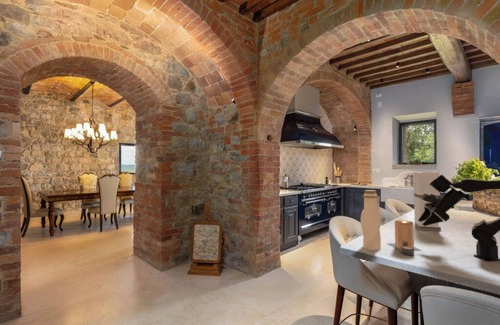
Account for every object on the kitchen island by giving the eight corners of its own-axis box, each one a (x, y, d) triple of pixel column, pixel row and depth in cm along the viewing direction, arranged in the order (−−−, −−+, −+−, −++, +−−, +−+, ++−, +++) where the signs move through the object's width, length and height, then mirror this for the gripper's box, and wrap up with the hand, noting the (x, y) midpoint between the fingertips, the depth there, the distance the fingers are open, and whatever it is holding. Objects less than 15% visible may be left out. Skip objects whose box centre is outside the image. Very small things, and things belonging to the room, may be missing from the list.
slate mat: (422, 251, 119) (422, 250, 119) (401, 252, 119) (401, 251, 119) (405, 243, 131) (405, 242, 131) (386, 244, 131) (386, 243, 131)
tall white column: (440, 231, 154) (439, 172, 154) (420, 229, 157) (418, 172, 157) (433, 226, 164) (432, 171, 165) (414, 225, 168) (413, 171, 168)
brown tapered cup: (417, 250, 120) (417, 223, 120) (402, 250, 119) (401, 223, 120) (406, 245, 128) (406, 219, 128) (392, 245, 127) (391, 220, 127)
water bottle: (365, 243, 132) (363, 189, 133) (384, 246, 127) (382, 189, 127) (359, 248, 125) (357, 190, 125) (379, 252, 119) (377, 191, 119)
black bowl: (416, 256, 113) (416, 249, 113) (406, 256, 113) (405, 249, 113) (409, 252, 118) (409, 245, 118) (399, 253, 118) (398, 246, 118)
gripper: (428, 185, 128) (403, 207, 132) (439, 189, 110) (410, 213, 115) (448, 202, 125) (422, 223, 129) (462, 208, 107) (432, 233, 111)
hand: (421, 223), depth 121 cm, fingers open, 9 cm apart
